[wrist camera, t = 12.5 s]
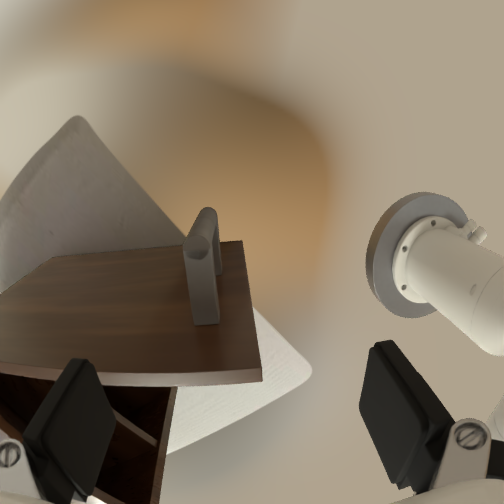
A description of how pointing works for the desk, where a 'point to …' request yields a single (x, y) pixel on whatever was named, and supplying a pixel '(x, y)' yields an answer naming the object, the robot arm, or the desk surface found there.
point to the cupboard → (122, 441)
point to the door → (137, 315)
